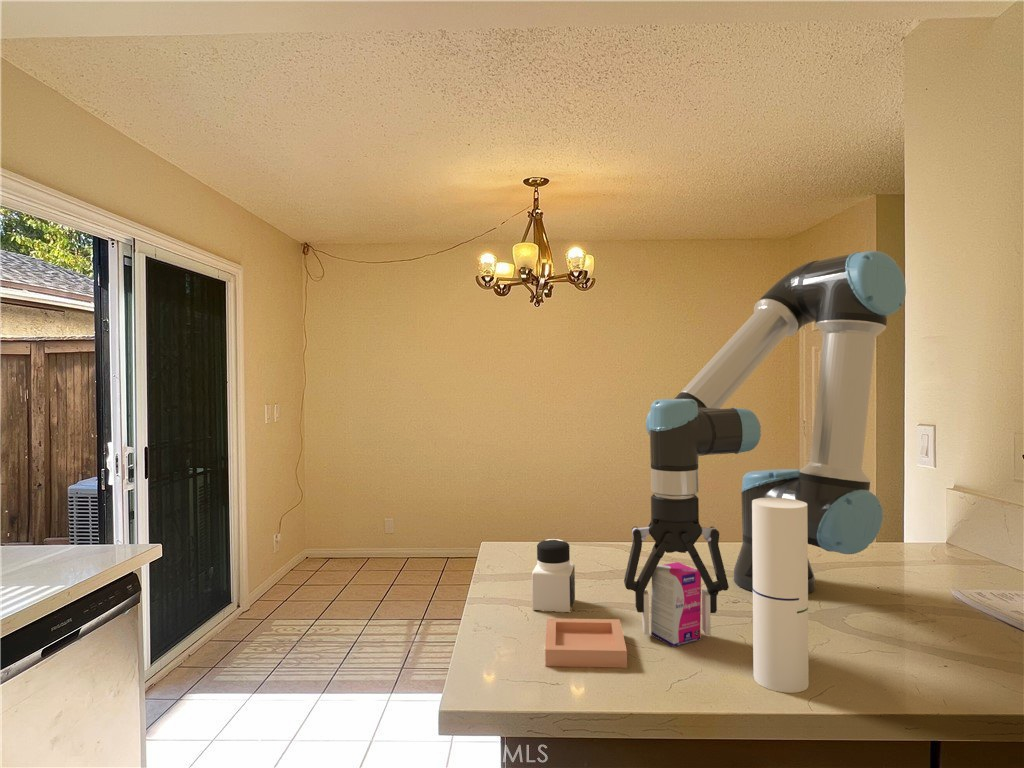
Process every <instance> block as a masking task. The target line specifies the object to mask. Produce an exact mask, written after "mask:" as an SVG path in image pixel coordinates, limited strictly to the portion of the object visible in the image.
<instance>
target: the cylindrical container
mask: <svg viewBox="0 0 1024 768" xmlns="http://www.w3.org/2000/svg"><path fill="white" fill-rule="evenodd" d="M808 545H809V544H808V525H807V503H805V502H803V501H799V500H794V499H787V498H758V499H754V500H752V560H753V591H752V638H753V639H752V643H753V644H752V645H753V647H752V650H753V651H752V652H753V653H752V654H753V655H752V656H753V658H752V659H753V660H752V661H753V662H752V663H753V666H752V668H753V669H752V670H753V673H752V674H753V679H754V681H755V682H756V683H757V685H760V687H763V688H766V689H767V690H768V689H769V690H770V691H775V692H778V693H784V694H785V693H786V694H787V693H788V694H795V693H800V692H803V691H805V690H807V689H808V688H809V687H810V686H809V683H810V682H809V678H810V677H809V593H808V559H809V557H808V556H809V551H808Z"/></svg>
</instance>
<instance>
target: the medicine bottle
mask: <svg viewBox="0 0 1024 768" xmlns="http://www.w3.org/2000/svg"><path fill="white" fill-rule="evenodd" d="M570 554H571V553H570V544H569V543H568V542H567V541H565V540H562V539H558V538H551V539H550V538H549V539H544V540H541V541H540V542H538V543H537V545H536V558H537V559H536V561H537V562H536V563H537V564H536V565H535V567H534V568H533V570H532V573H531V594H532V595H531V600H532V601H531V602H532V604H531V605H532V606H531V607H532V608H531V609H532V611H533V610H544V611H543V612H547V611H555V612H554V613H564V612H570V613H572V609H573V607H574V603H575V600H576V580H575V578H576V577H575V575H576V574H575V570H576V569H575V563H574V562H570V561H571V560H570V558H571V556H570Z"/></svg>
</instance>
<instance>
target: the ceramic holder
mask: <svg viewBox="0 0 1024 768" xmlns="http://www.w3.org/2000/svg"><path fill="white" fill-rule="evenodd" d="M545 629H546V631H545V632H546V633H545V649H544V651H545V667H569V668H571V667H573V668H574V667H575V668H578V667H579V668H580V667H582V668H623V669H624V668H628V650H627V645H626V641H625V637H624V632H623V628H622V625H621V619H619V618H617V619H616V618H613V619H612V618H610V619H609V618H607V619H603V618H546V628H545Z"/></svg>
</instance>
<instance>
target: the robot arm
mask: <svg viewBox="0 0 1024 768" xmlns="http://www.w3.org/2000/svg"><path fill="white" fill-rule="evenodd" d="M906 293H907V289H906V280H905V276H904V274H903V271H902V269H901V268H900V267H899V265H898V263H897V262H896V261H895V260H894V258H893V257H892V256H890V255H889V254H887V253H884V252H883V251H879V250H878V251H877V250H870V251H869V250H868V251H862V252H861V251H856V252H855V251H854V252H852V253H850V254H845V255H839V256H836V257H830V258H825V259H821V260H814V261H808V262H806V263H804V264H801V265H799V266H798V267H796V268H794V269H792V270H791V271H790V272H787V274H785V275H784V276H783V277H782V278H781V279H779V280H778V281H777V282H775V284H774V285H772V286H771V287H770V288H769V289H768V290H767V291H766V292H765V293H764V294H763V295H762V296H761V298H759V300H757V302H756V303H755V304H754V307H753V313H752V314H751V315H750V317H749V318H748V319H747V320H746V321H745V322H744V323H743V324H742V326H740V328H738V329H737V331H736V332H735V333H733V335H732V336H731V337H730V338H729V339H728V340H727V341H726V343H724V345H723V346H722V347H721V348H720V349H719V350H718V351H717V352H716V353H715V355H713V356H712V358H711V359H710V360H708V362H707V363H706V364H705V365H704V366H703V367H702V368H701V369H700V370H699V371H698V372H697V374H696V375H695V376H694V377H693V378H692V379H691V380H690V381H689V382H688V383H687V385H686V386H684V388H682V390H681V391H680V392H679V393H678V394H677V395H676V396H675V397H674V398H661V399H656V400H654V401H653V402H652V403H651V405H650V410H649V412H648V414H647V416H646V418H645V419H646V420H645V428H646V431H647V433H648V435H649V446H650V447H649V449H650V450H649V453H650V491H651V492H652V493H653V494H652V495H651V496H650V523H649V524H648V526H646V527H645V526H644V527H638V526H633V527H632V528H631V535H632V544H631V549H630V552H629V556H628V557H629V558H628V561H627V566H626V571H625V575H624V580H623V583H624V586H625V589H626V590H628V591H633V592H634V593H635V594H634V595H635V596H634V597H635V608H636V609H635V610H636V612H637V613H641V617H642V618H641V619H642V620H641V621H642V622H641V623H642V628H641V629H642V631H643V634H644V635H645V636H646V635H650V594H649V591H648V590H647V587H648V585H649V583H650V580H652V575H653V573H654V571H655V569H656V567H657V566H659V562H660V561H661V559H662V558H664V557H663V556H664V555H665V553H667V554H673V553H681V554H682V553H683V554H686V553H688V555H689V557H690V559H691V560H692V563H693V564H694V566H695V568H696V570H698V571H699V572H700V574H701V580H702V581H703V582H704V585H705V586H706V589H701V626H702V627H701V628H702V631H703V633H704V634H705V636H709V637H710V636H711V634H712V633H711V628H712V627H711V623H712V622H711V614H716V613H717V610H718V608H717V607H718V599H717V597H718V595H719V592H723V591H728V590H729V589H730V586H729V582H728V579H727V574H726V570H725V566H724V563H723V557H722V553H721V550H720V545H719V541H720V532H719V530H718V529H717V528H716V527H715V526H709V527H704V526H703V527H702V526H701V524H700V517H699V516H700V515H699V512H700V510H699V502H700V501H699V497H698V496H697V494H698V493H699V457H701V456H709V455H725V454H726V455H727V454H735V455H738V454H739V453H746V452H750V451H753V450H754V449H755V448H756V447H757V446H758V444H759V443H760V440H761V437H762V434H761V432H762V430H761V428H762V426H761V422H760V420H759V418H758V416H757V415H756V414H755V413H754V412H753V411H752V410H750V409H747V408H740V407H739V408H737V407H730V408H722V407H723V406H724V405H725V403H727V402H728V400H729V399H730V398H731V397H732V396H733V395H734V394H735V393H736V392H737V391H738V389H740V388H741V386H742V385H743V384H744V383H745V382H746V381H747V379H748V378H749V377H750V376H751V375H752V374H753V373H754V372H755V370H757V368H759V366H760V365H761V364H762V363H763V362H764V361H765V360H766V359H767V358H768V356H769V355H770V354H771V353H772V352H773V351H774V350H775V349H776V348H777V346H778V345H779V344H780V343H781V342H782V341H783V340H784V339H785V338H789V337H792V336H794V335H795V334H796V333H797V332H798V331H799V330H800V329H801V328H802V327H804V326H806V325H808V324H810V323H811V324H812V323H813V322H815V323H814V324H815V325H814V326H815V327H816V328H817V329H818V330H819V331H820V333H821V334H822V340H821V341H822V342H821V349H820V350H821V351H820V352H821V353H820V361H819V370H818V378H817V379H818V381H817V390H816V400H815V409H814V416H813V417H814V418H813V426H812V427H813V428H812V437H811V446H810V454H809V462H808V463H807V464H806V465H805V466H804V467H802V468H801V469H796V468H780V469H779V468H777V469H763V470H762V469H761V470H752V471H748V472H746V473H745V474H744V475H743V477H742V485H741V491H740V494H741V525H742V543H741V544H742V545H741V547H740V549H739V554H738V556H737V559H736V562H735V565H734V567H733V582H734V584H736V585H737V586H738V587H740V588H741V589H745V590H747V591H750V592H753V560H752V500H754V499H758V498H787V499H794V500H799V501H803V502H805V503H807V525H808V545H811V546H815V547H818V548H820V549H823V550H824V551H827V552H829V553H830V552H831V553H832V552H833V553H839V554H843V555H855V554H858V553H861V552H863V551H864V550H866V549H867V548H868V547H869V545H870V544H872V543H873V542H875V540H876V538H877V536H878V535H879V533H880V531H881V527H882V524H883V519H884V510H883V506H882V504H880V503H881V502H880V499H879V498H878V496H877V495H876V494H874V493H873V492H872V491H870V489H871V479H870V478H869V477H868V475H867V474H866V473H865V472H864V470H863V460H864V454H865V453H864V452H865V441H866V431H867V422H868V414H869V413H868V412H869V405H870V396H871V395H870V394H871V393H870V392H871V386H872V385H871V384H872V383H871V382H872V374H873V366H874V365H873V364H874V354H875V353H874V352H875V345H876V338H877V337H878V336H879V335H880V334H881V333H883V332H885V330H886V329H887V324H888V323H887V322H888V316H892V315H893V314H895V313H897V312H898V311H899V310H900V308H901V307H902V306H903V304H904V302H905V299H906ZM649 535H650V537H652V539H653V540H654V542H655V543H654V544H653V546H652V549H651V552H650V554H649V555H648V558H647V560H646V562H645V564H644V566H643V568H642V570H641V571H640V573H639V576H638V577H637V579H636V574H637V571H638V565H639V562H640V561H639V560H640V557H641V552H642V547H643V542H646V540H647V537H648V536H649ZM701 536H703V538H704V540H705V541H706V543H707V544H708V551H709V553H710V557H711V561H712V562H711V563H712V566H713V569H714V574H715V578H716V580H715V581H713V579H712V576H710V573H709V571H708V569H707V568H706V566H705V564H704V562H703V560H702V558H701V555H700V554H699V552H698V550H697V549H696V547H695V543H697V540H699V538H700V537H701ZM635 579H636V580H635ZM815 582H816V580H815V574H814V572H813V568H812V565H811V563H810V560H809V558H808V594H810V593H812V592H814V590H815V588H816V583H815Z"/></svg>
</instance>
